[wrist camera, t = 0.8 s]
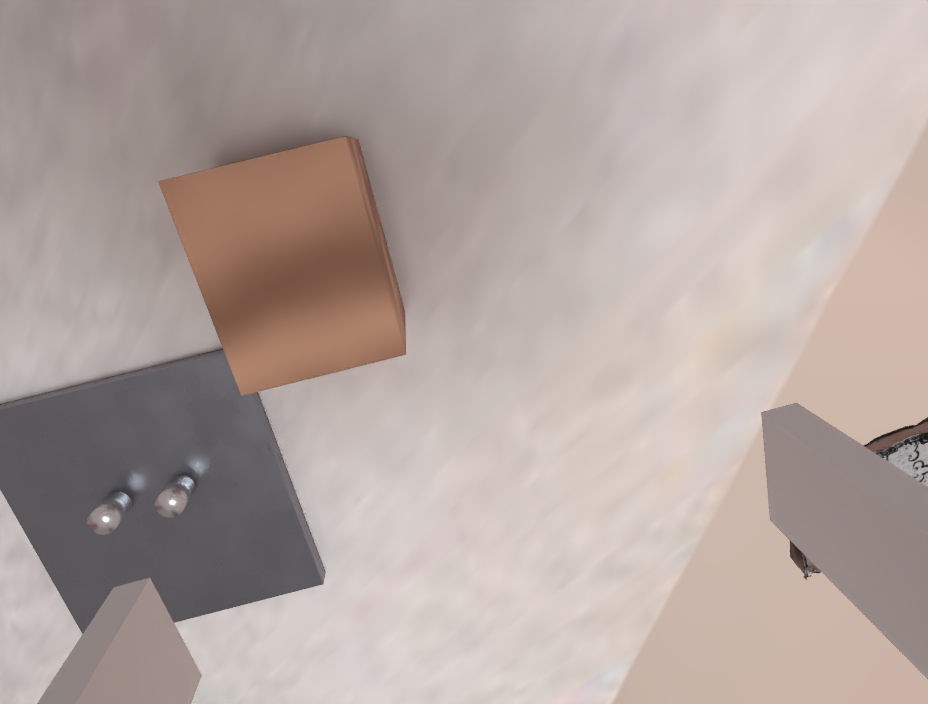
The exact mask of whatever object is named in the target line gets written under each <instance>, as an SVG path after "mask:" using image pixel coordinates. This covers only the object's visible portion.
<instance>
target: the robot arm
mask: <svg viewBox="0 0 928 704" xmlns="http://www.w3.org/2000/svg"><path fill="white" fill-rule="evenodd" d="M761 415H762V427H763V439H764V452H765V464H766V475H767V488H768V501H769V512H770V520H771V521H772V522H773V523H774V524H775V525H776V526H777V528H779V530H780V531H781V532H782V533H783V534H784V535H785V536H786V537H788V539H789V540H790V541H791V542H792V543H793V544H794V545H795V546H796V547H797V548H798V549H799V550H800V551H801V552H802V553H803V554H804V555H805V556H806V557H807V558H808V559H809V560H810V561H811V562H812V563H813V564H814V565H815V566H816V567H817V568H818V569H819V570H820V571H821V572H822V573H823V574H824V575H825V576H826V577H827V578H828V579H829V580H830V581H831V582H832V583H833V584H834V585H835V586H836V587H837V588H838V589H839V590H840V591H841V592H842V593H843V594H844V595H845V596H846V597H847V598H848V599H849V600H850V601H851V602H852V603H853V604H854V605H855V606H856V607H857V608H858V609H859V610H860V611H861V612H862V613H863V614H864V615H865V616H866V617H867V618H868V619H869V620H870V621H871V622H872V623H873V624H874V625H875V626H876V627H877V628H878V629H879V630H880V631H881V632H882V633H883V634H884V635H885V637H886V638H888V640H889V641H890V642H891V643H892V644H893V645H894V646H895V647H896V648H897V649H898V650H899V651H901V652H902V654H904V656H905V657H906V658H907V659H908V660H909V661H910V662H911V663H912V664H913V665H914V666H915V667H916V668H917V669H918V670H919V671H920V672H921V673H922V674H923V675H924V676H925V677H926V678H927V679H928V487H926V486H925V485H923V484H922V483H920V482H919V481H917V480H916V479H914V478H912V477H911V476H909V475H908V474H906V473H905V472H903V471H902V470H900V469H899V468H897V467H895V466H894V465H892V464H891V463H889V462H888V461H886V460H885V459H883V458H881V457H880V456H878V455H877V454H875V453H874V452H872V451H871V450H869V449H867V448H866V447H864V446H863V445H861V444H860V443H858V442H857V441H855V440H853V439H852V438H850V437H848V436H847V435H846V434H844V433H843V432H841V431H840V430H838V429H836V428H835V427H833V426H832V425H830V424H828V423H827V422H826V421H824V420H822V419H821V418H819V417H818V416H816V415H815V414H813V413H812V412H810V411H809V410H807V409H805V408H804V407H802V406H801V405H799V404H798V403H794V404H790V405H786V406H783V407H779V408H775V409H772V410H768V411H764V412H761ZM201 676H202V675H201V673H200V671H199V669H198V667H197V665H196V664H195V662H194V660H193V658H192V656H191V654H190V652H189V650H188V648H187V647H186V645H185V643H184V641H183V639H182V637H181V635H180V633H179V632H178V630H177V628H176V626H175V624H174V622H173V620H172V618H171V616H170V615H169V613H168V611H167V609H166V607H165V605H164V603H163V601H162V600H161V598H160V596H159V594H158V592H157V590H156V588H155V586H154V585H153V583H152V581H151V579H150V578H147V579H143V580H139V581H135V582H132V583H128V584H124V585H121V586H117V587H114V588H113V589H112V591H111V592H110V594H109V595H108V597H107V598H106V600H105V601H104V603H103V604H102V606H101V607H100V609H99V610H98V612H97V614H96V615H95V617H94V618H93V620H92V621H91V623H90V624H89V626H88V627H87V629H86V630H85V632H84V633H83V635H82V636H81V638H80V639H79V641H78V642H77V644H76V645H75V647H74V649H73V650H72V652H71V653H70V655H69V656H68V658H67V659H66V661H65V662H64V664H63V665H62V667H61V668H60V670H59V671H58V673H57V674H56V676H55V677H54V679H53V681H52V682H51V684H50V685H49V687H48V688H47V690H46V691H45V693H44V694H43V696H42V697H41V699H40V700H39V702H38V703H37V704H191V702H192V699H193V697H194V694H195V691H196V689H197V686H198V683H199V681H200V678H201Z"/></svg>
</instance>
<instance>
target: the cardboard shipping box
mask: <svg viewBox="0 0 928 704" xmlns="http://www.w3.org/2000/svg"><path fill="white" fill-rule="evenodd" d="M158 182H159V184H160V187H161V190H162V192H163V195H164V197H165V200H166V202H167V205H168V208H169V210H170V213H171V215H172V218H173V220H174V223H175V226H176V228H177V231H178V233H179V236H180V239H181V241H182V244H183V246H184V249H185V251H186V254H187V257H188V259H189V262H190V264H191V267H192V270H193V272H194V275H195V277H196V280H197V282H198V285H199V288H200V290H201V293H202V295H203V298H204V301H205V303H206V306H207V308H208V311H209V313H210V316H211V319H212V321H213V324H214V326H215V329H216V332H217V334H218V337H219V339H220V342H221V344H222V347H223V350H224V352H225V355H226V357H227V360H228V362H229V365H230V368H231V370H232V373H233V375H234V378H235V381H236V383H237V386H238V388H239V391H240V393H241V396H242V395H246V394H250V393H254V392H258V391H262V390H266V389H270V388H274V387H278V386H282V385H286V384H290V383H294V382H298V381H302V380H306V379H310V378H314V377H318V376H322V375H326V374H330V373H334V372H338V371H342V370H346V369H350V368H354V367H358V366H362V365H366V364H370V363H374V362H378V361H382V360H386V359H390V358H394V357H398V356H402V355H406V329H405V310H404V306H403V302H402V299H401V295H400V291H399V288H398V284H397V280H396V277H395V273H394V269H393V266H392V262H391V258H390V255H389V251H388V247H387V244H386V240H385V236H384V233H383V229H382V225H381V222H380V218H379V214H378V211H377V207H376V203H375V200H374V196H373V192H372V189H371V185H370V181H369V178H368V174H367V170H366V167H365V163H364V159H363V155H362V152H361V148H360V144H359V141H358V140H356V139H353V138H350V137H346V136H344V137H340V138H336V139H331V140H327V141H323V142H319V143H315V144H311V145H307V146H303V147H298V148H294V149H290V150H286V151H282V152H278V153H274V154H269V155H265V156H261V157H257V158H253V159H249V160H245V161H241V162H236V163H232V164H228V165H224V166H220V167H216V168H212V169H208V170H203V171H199V172H195V173H191V174H187V175H183V176H179V177H175V178H170V179H166V180H162V181H158Z"/></svg>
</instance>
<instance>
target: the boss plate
mask: <svg viewBox="0 0 928 704" xmlns="http://www.w3.org/2000/svg"><path fill="white" fill-rule="evenodd" d="M0 490H1V491H2V493H3V495H4V497H5V498H6V500H7V502H8V504H9V505H10V507H11V509H12V511H13V512H14V514H15V516H16V518H17V519H18V521H19V523H20V525H21V526H22V528H23V530H24V532H25V534H26V535H27V537H28V539H29V541H30V542H31V544H32V546H33V548H34V549H35V551H36V553H37V555H38V556H39V558H40V560H41V562H42V563H43V565H44V567H45V569H46V570H47V572H48V574H49V576H50V577H51V579H52V581H53V583H54V584H55V586H56V588H57V590H58V592H59V593H60V595H61V597H62V599H63V600H64V602H65V604H66V606H67V607H68V609H69V611H70V613H71V614H72V616H73V618H74V620H75V621H76V623H77V625H78V627H79V628H80V630H81V632H82V634H83V633H84V632H85V630H86V629H87V627H88V626H89V624H90V623H91V621H92V620H93V618H94V617H95V615H96V614H97V612H98V610H99V609H100V607H101V606H102V604H103V603H104V601H105V600H106V598H107V597H108V595H109V594H110V592H111V591H112V589H113V588H114V587H117V586H121V585H124V584H128V583H132V582H135V581H139V580H143V579H147V578H150V579H151V581H152V583H153V585H154V586H155V588H156V590H157V592H158V594H159V596H160V598H161V600H162V601H163V603H164V605H165V607H166V609H167V611H168V613H169V615H170V616H171V618H172V620H173V622H178V621H182V620H186V619H190V618H194V617H198V616H202V615H205V614H209V613H213V612H217V611H221V610H225V609H229V608H233V607H236V606H240V605H244V604H248V603H252V602H256V601H260V600H264V599H267V598H271V597H275V596H279V595H283V594H287V593H291V592H295V591H299V590H302V589H306V588H310V587H314V586H318V585H322V584H323V583H324V577H325V570H324V567H323V565H322V562H321V559H320V557H319V554H318V551H317V549H316V546H315V543H314V541H313V538H312V535H311V533H310V530H309V527H308V525H307V522H306V519H305V517H304V514H303V511H302V509H301V506H300V503H299V501H298V498H297V495H296V493H295V490H294V488H293V485H292V482H291V480H290V477H289V474H288V472H287V469H286V466H285V464H284V461H283V458H282V456H281V453H280V450H279V448H278V445H277V442H276V440H275V437H274V434H273V432H272V429H271V426H270V424H269V421H268V418H267V416H266V413H265V410H264V408H263V405H262V403H261V400H260V397H259V395H258V392H254V393H250V394H246V395H242V396H241V393H240V391H239V388H238V386H237V383H236V381H235V378H234V375H233V373H232V370H231V368H230V365H229V362H228V360H227V357H226V355H225V352H224V350H223V349H222V350H217V351H213V352H209V353H205V354H201V355H197V356H193V357H189V358H185V359H181V360H177V361H173V362H169V363H165V364H161V365H157V366H153V367H149V368H145V369H141V370H137V371H133V372H129V373H125V374H121V375H117V376H113V377H109V378H105V379H101V380H97V381H93V382H89V383H85V384H81V385H77V386H73V387H69V388H65V389H61V390H57V391H53V392H49V393H45V394H41V395H36V396H32V397H28V398H24V399H20V400H16V401H12V402H8V403H4V404H0Z"/></svg>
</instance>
